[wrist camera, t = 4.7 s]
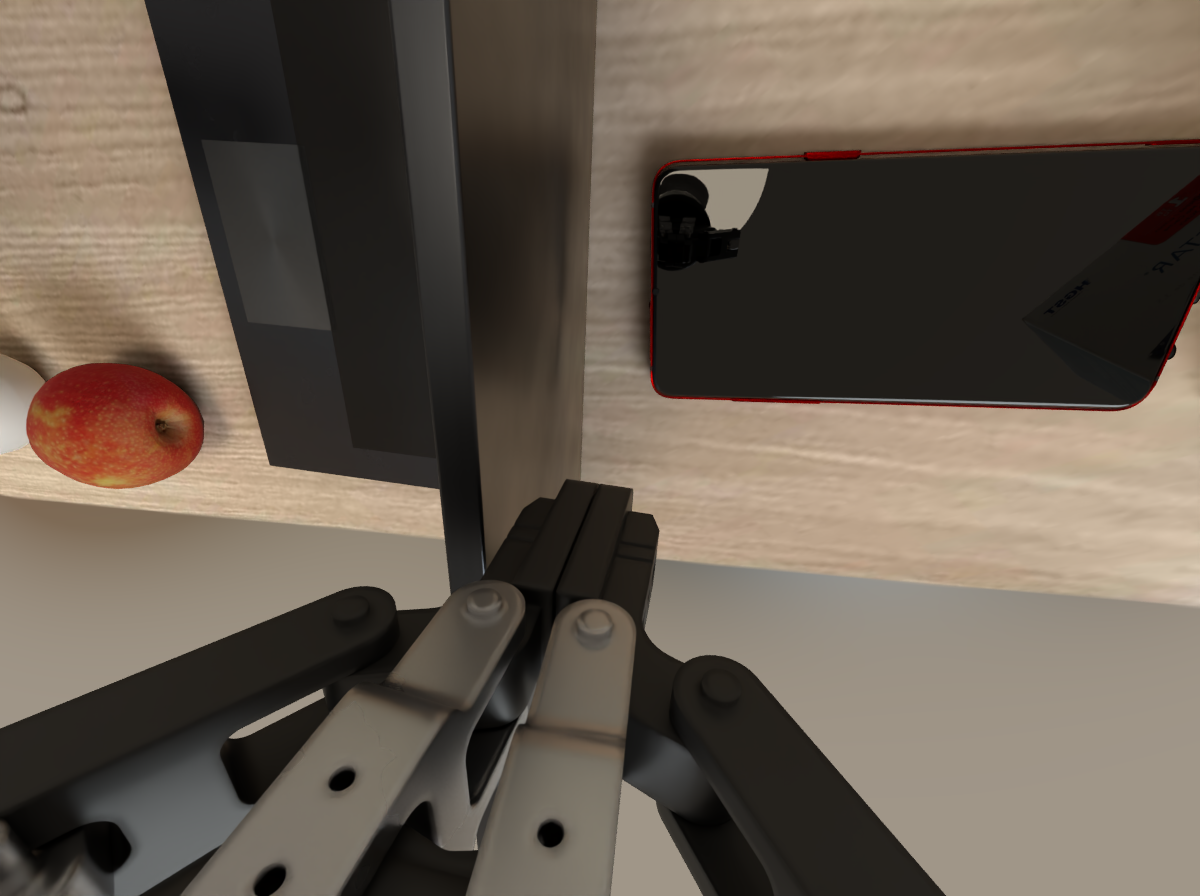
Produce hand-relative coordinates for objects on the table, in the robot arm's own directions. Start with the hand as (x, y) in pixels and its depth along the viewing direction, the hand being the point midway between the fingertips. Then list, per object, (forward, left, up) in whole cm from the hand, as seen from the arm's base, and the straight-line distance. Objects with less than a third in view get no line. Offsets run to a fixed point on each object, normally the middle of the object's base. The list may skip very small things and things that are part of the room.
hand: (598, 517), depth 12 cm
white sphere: (-34, -34, -21) cm, 52 cm away
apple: (-23, -27, -21) cm, 41 cm away
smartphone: (+9, +8, -21) cm, 24 cm away
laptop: (-14, -7, -21) cm, 26 cm away
